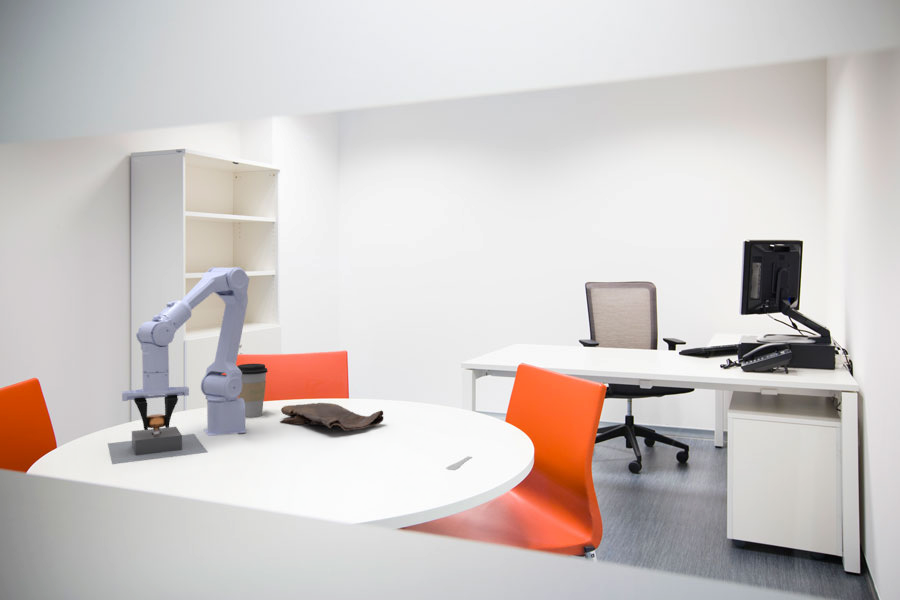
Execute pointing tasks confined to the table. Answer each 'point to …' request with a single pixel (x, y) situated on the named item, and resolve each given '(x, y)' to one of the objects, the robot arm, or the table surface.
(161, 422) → the plunger
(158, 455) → the board
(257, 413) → the coffee cup
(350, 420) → the folded brown cloth
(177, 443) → the block
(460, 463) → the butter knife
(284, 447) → the table surface
